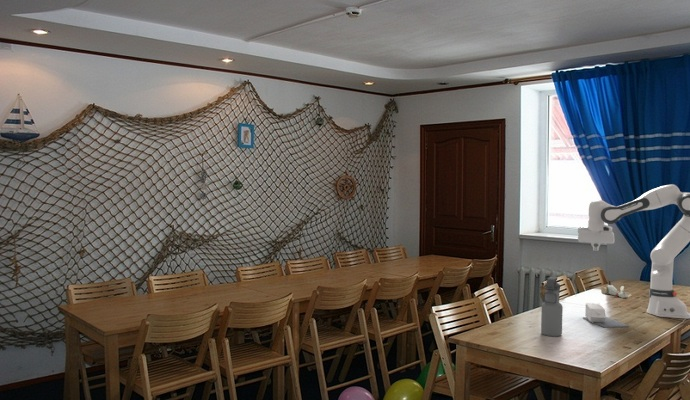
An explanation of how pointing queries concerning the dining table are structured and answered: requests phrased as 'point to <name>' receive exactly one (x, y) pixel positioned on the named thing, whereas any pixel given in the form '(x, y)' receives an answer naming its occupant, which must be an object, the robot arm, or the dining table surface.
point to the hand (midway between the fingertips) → (595, 250)
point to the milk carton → (595, 312)
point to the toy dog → (614, 291)
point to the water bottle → (551, 309)
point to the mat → (609, 323)
